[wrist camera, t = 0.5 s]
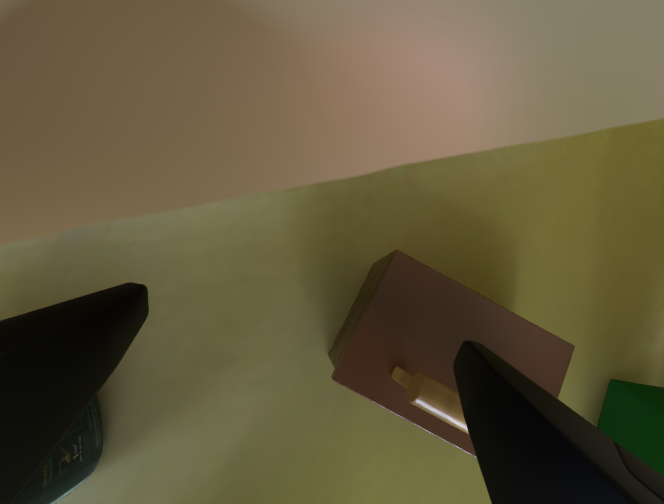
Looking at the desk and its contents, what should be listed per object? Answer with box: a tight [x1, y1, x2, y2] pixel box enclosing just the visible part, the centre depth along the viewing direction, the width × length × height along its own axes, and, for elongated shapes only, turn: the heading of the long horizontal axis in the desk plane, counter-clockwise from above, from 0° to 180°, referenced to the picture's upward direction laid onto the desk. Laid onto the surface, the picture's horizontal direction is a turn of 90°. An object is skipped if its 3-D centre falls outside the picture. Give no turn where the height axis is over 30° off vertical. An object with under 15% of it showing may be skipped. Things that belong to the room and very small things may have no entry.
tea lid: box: [331, 250, 575, 458], centre depth 16 cm, size 8×12×5 cm
